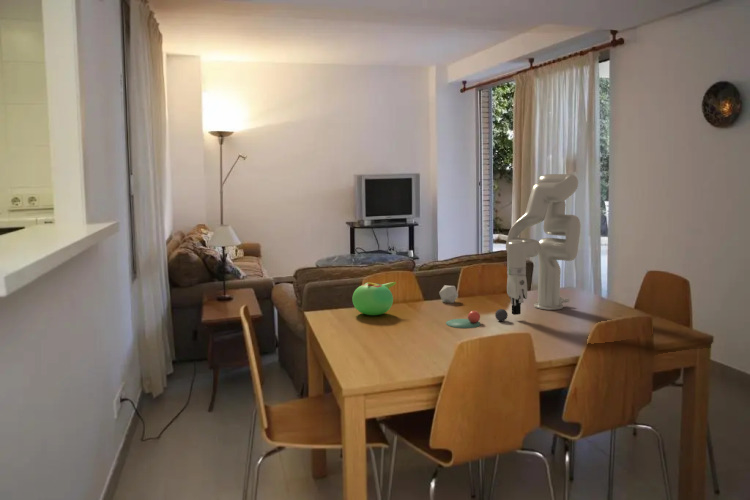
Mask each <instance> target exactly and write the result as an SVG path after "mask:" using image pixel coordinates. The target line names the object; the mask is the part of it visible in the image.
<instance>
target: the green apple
mask: <svg viewBox="0 0 750 500" xmlns="http://www.w3.org/2000/svg"><path fill="white" fill-rule="evenodd" d="M396 284H397V282H396V281H393V282H388V283H387V282H386V283H383V284H380V283H377V282H376V283H375V282H374V283H373V282H365V283H364V284H362V285H359V286H358V287H357V288H356V289H355V290H354V292H353V294H352V298H351V299H352V304H353V305H352V306H354V308H355V309H356V310H357V311H358V312H360V313H362V314H363V315H367V316H381V315H383V314H385V313H387V312H388V311H389V310H390V309H391V308H392V306H393V304H394V296H393V293H392V291H391V290H390V288H391V287H393V286H394V285H396Z"/></svg>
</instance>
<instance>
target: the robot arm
mask: <svg viewBox="0 0 750 500" xmlns="http://www.w3.org/2000/svg"><path fill="white" fill-rule="evenodd" d="M537 182H538V183H535V184H534V185H533V186H532V188H531V191H530V195H529V196H528V197H529V198H528V201H527V205H526V209H525V212H524V214H523V215H521V217H520V218H518V220H516V221H515V222H514V223H513V224H512V226H511V227H510V229H509V231H508V234H507V238H506V241H505V250H506V253H507V254H506V256H507V257H506V259H507V261H506V265H507V266H506V270H507V271H506V275H507V278H506V279H507V281H506V293H507V296H508V297H509V299H510V302H511V314H512V315H514V316H516V315H518V316H519V315H521V305H522V304H524V302H525V301H524V299H525V300H527V299H528V281H527V276H526V275H527V274H526V273H527V258H535V257H536V256H537V258H538V281H537V283H538V284H537V302H535V303H534V304H533V306H534V307H535V308H536V309H540V310H548V311H557V310H562V309H563V308H564V303H570V298H569V297H565V298H564V297H561V271H562V270H561V266H560V264H559V262H558V261H565V262H572V261H574V260H575V259H576V258H577V255H578V252H579V251H578V250H579V242H580V235H581V221H580V218H579V217H578V216H577V215H575V214H566V205H567V204H566V200H568V199H569V198H570V197H571V196H572V195H573V194H574V193H575V192H576V191H577V189H578V187H579V180H578V177H577V176H576V175H574V174H572V173H571V174H570V173H549V174H548V173H547V174H543V175H541V176H539V178H538V181H537ZM542 222H543V225H542V226H543V232H544V233H545V235H550V236H562V237H565V238H559V237H558V238H557V237H545V238H541V239H540V240H539V241H538V240H537V239H533V238H524V237H523V238H522V237H520V235H521V234H522V233H523V232H524V231H525V230H526V229H528V228H531V227H533V226H535V225H538V224H540V223H542Z"/></svg>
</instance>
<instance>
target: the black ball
mask: <svg viewBox="0 0 750 500" xmlns="http://www.w3.org/2000/svg"><path fill="white" fill-rule="evenodd" d="M494 315H495V319H496V320H497V321H499V322H504V321H506V320H507V318H508V316H509V315H508V311H507V310H506V309H504V308H499V309H497V310H496V311H495V313H494Z"/></svg>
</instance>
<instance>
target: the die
mask: <svg viewBox="0 0 750 500" xmlns="http://www.w3.org/2000/svg"><path fill="white" fill-rule="evenodd" d="M438 293H439V296H440V300H441V302H442V303H446V302H447V303H448V304H454V303H455V302H456V299H457V298H458V297H459V294H458V293H459V292H458V291H457V288H456V286H455V285H447V284H446V285H445V284H444V285H443V287H441V289H440V291H439V292H438ZM447 303H446V304H447Z"/></svg>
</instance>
